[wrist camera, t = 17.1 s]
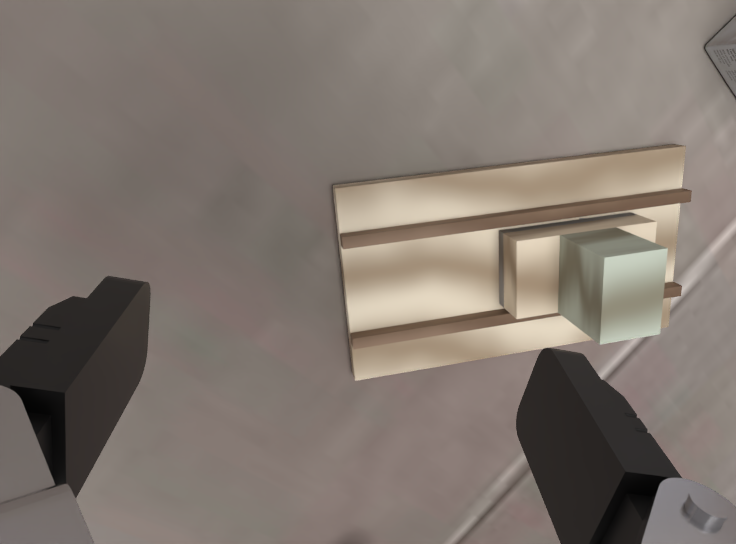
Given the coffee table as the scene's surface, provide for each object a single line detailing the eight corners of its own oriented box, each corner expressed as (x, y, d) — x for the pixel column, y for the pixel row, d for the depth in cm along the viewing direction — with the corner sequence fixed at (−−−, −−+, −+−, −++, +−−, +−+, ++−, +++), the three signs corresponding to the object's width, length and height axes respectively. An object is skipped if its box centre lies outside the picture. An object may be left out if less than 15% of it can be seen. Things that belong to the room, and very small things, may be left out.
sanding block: (498, 230, 40) (555, 265, 32) (630, 212, 41) (713, 241, 34) (499, 303, 42) (553, 352, 34) (625, 283, 43) (703, 326, 36)
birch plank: (332, 185, 38) (337, 191, 36) (674, 144, 42) (695, 147, 40) (352, 372, 43) (357, 387, 40) (658, 320, 46) (677, 332, 44)
